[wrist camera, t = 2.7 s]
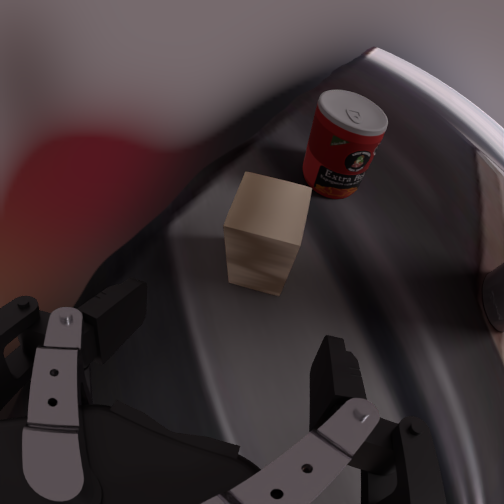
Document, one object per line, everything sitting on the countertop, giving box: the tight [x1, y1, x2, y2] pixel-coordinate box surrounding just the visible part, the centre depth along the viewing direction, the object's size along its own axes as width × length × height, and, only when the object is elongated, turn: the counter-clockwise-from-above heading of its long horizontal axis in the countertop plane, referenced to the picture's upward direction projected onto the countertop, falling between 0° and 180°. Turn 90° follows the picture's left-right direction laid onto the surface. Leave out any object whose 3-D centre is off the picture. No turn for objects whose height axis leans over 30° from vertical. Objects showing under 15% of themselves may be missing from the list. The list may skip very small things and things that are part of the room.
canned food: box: [303, 90, 388, 199], centre depth 28 cm, size 8×8×11 cm
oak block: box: [223, 172, 312, 296], centre depth 23 cm, size 5×5×10 cm
